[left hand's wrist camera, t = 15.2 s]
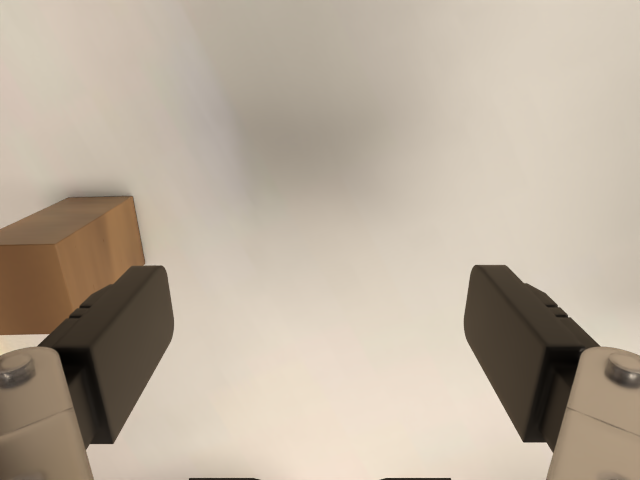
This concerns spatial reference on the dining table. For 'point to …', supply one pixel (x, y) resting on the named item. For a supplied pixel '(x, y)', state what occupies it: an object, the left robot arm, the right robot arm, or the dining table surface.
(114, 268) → the block
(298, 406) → the dining table surface
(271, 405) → the dining table surface
